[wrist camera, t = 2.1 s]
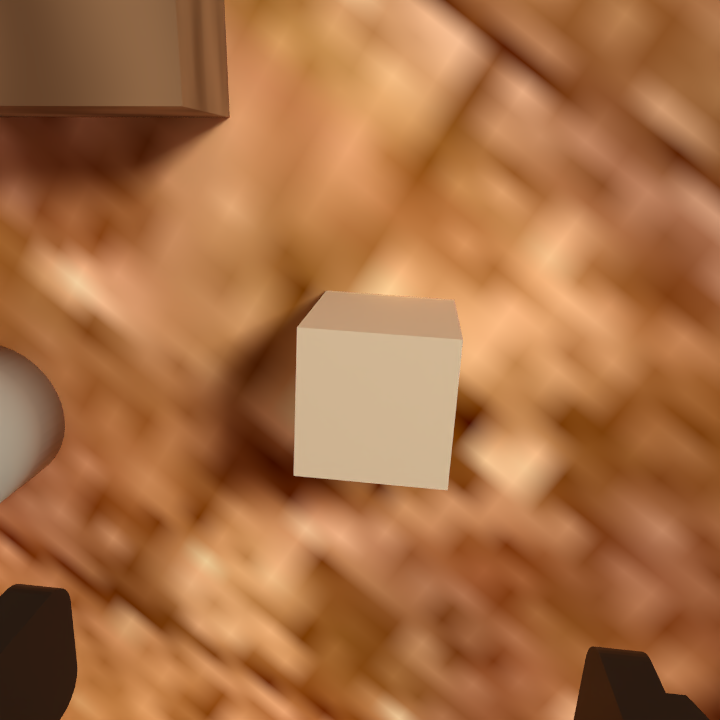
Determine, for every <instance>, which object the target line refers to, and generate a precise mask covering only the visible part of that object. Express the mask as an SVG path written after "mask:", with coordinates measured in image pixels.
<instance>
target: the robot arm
mask: <svg viewBox="0 0 720 720" xmlns="http://www.w3.org/2000/svg"><path fill="white" fill-rule="evenodd" d="M76 678H77V659H76V649H75V639H74V630H73V620H72V610H71V601H70V596H69V594H68V592H67V591H66V590H65V589H61V588H52V587H43V586H33V585H24V584H15V585H13V586H11V587H10V588H8V589H7V590H6V591H5V592H4V593H3V594H2V595H1V596H0V720H60V719H61V717H62V716H63V714H64V712H65V711H66V709H67V707H68V705H69V702H70V700H71V697H72V694H73V691H74V688H75V683H76ZM574 720H709V719H708V718H707V716H706V715H705V714H704V713H703V712H702V711H701V710H700V709H699V708H698V707H697V706H696V705H695V704H694V703H693V702H692V701H691V700H690V699H689V698H688V697H687V696H686V695H678V694H669V693H665V690H664V688H663V686H662V684H661V682H660V679H659V677H658V675H657V673H656V671H655V669H654V666H653V664H652V662H651V660H650V658H649V657H648V656H647V654H646V653H644V652H640V651H630V650H621V649H611V648H602V647H590V648H589V650H588V652H587V655H586V659H585V665H584V670H583V675H582V680H581V685H580V690H579V695H578V701H577V706H576V711H575V716H574Z"/></svg>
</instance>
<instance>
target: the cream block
mask: <svg viewBox="0 0 720 720" xmlns="http://www.w3.org/2000/svg"><path fill="white" fill-rule="evenodd" d="M462 344H463V338H462V333H461V328H460V323H459V319H458V314H457V309H456V304H455V300H452V299H438V298H424V297H410V296H395V295H381V294H367V293H353V292H339V291H326V292H325V293H324V294H323V295H322V297H321V298H320V299H319V300H318V302H317V303H316V304H315V305H314V307H313V308H312V309H311V310H310V312H309V313H308V314H307V315H306V317H305V318H304V319H303V320H302V322H301V323H300V324H299V325H298V327H297V349H296V392H295V436H294V476H302V477H312V478H323V479H334V480H344V481H355V482H366V483H376V484H387V485H398V486H408V487H419V488H430V489H440V490H448V480H449V471H450V461H451V451H452V441H453V432H454V422H455V412H456V403H457V393H458V383H459V373H460V364H461V354H462Z"/></svg>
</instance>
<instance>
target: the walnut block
mask: <svg viewBox="0 0 720 720" xmlns="http://www.w3.org/2000/svg"><path fill="white" fill-rule="evenodd" d="M0 117H230V115H229V94H228V72H227V50H226V29H225V7H224V0H0Z"/></svg>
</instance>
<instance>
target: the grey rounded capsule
mask: <svg viewBox="0 0 720 720" xmlns="http://www.w3.org/2000/svg"><path fill="white" fill-rule="evenodd" d="M64 430H65V421H64V413H63V409H62V405H61V402H60V399H59V397H58V395H57V392H56V391H55V389H54V387H53V385H52V384H51V382H50V381H49V380H48V378H47V377H46V376H45V374H44V373H43V372H42V371H41V370H40V369H39V368H38V367H37V366H36V365H34V364H33V363H32V362H31V361H30V360H28V359H27V358H25V357H24V356H22V355H21V354H19V353H17V352H15V351H13V350H10V349H8V348H6V347H2V346H0V503H1V502H2V501H3V500H4V499H6V498H7V497H8V496H10V495H11V494H12V493H13V492H15V491H16V490H17V489H18V488H20V487H21V486H22V485H23V484H25V483H26V482H27V481H28V480H30V479H31V478H32V477H34V476H35V475H36V474H37V473H39V472H40V471H41V470H42V469H44V468H45V467H46V466H47V465H49V464H50V462H51V461H52V460H53V459H54V458H55V456H56V455H57V453H58V451H59V449H60V447H61V445H62V441H63V437H64Z"/></svg>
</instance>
